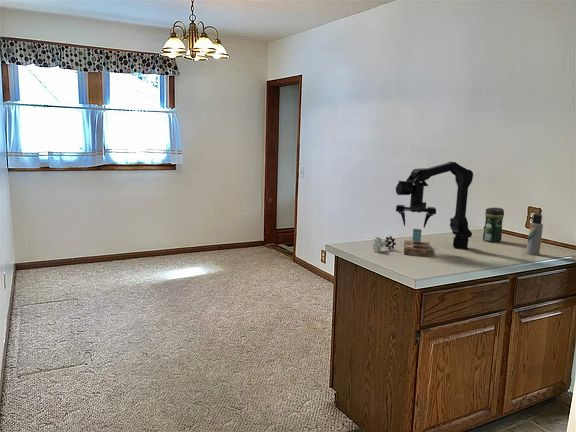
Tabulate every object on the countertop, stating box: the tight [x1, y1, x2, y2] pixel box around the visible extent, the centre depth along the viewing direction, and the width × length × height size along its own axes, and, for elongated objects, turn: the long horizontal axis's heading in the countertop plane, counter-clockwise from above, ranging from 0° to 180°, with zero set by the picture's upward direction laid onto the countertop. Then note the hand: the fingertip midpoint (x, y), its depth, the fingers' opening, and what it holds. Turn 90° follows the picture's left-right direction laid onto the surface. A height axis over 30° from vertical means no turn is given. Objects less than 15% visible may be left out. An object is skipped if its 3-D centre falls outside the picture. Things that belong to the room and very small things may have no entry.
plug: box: [411, 228, 422, 242], centre depth 245 cm, size 4×4×8 cm
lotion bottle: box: [526, 213, 544, 256], centre depth 235 cm, size 6×6×20 cm
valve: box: [372, 235, 397, 253], centre depth 229 cm, size 7×7×12 cm
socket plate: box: [403, 239, 432, 258], centre depth 231 cm, size 12×18×3 cm, turn 166°
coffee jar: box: [482, 207, 505, 243], centre depth 262 cm, size 10×8×19 cm
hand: (414, 226), depth 234 cm, fingers open, 9 cm apart
